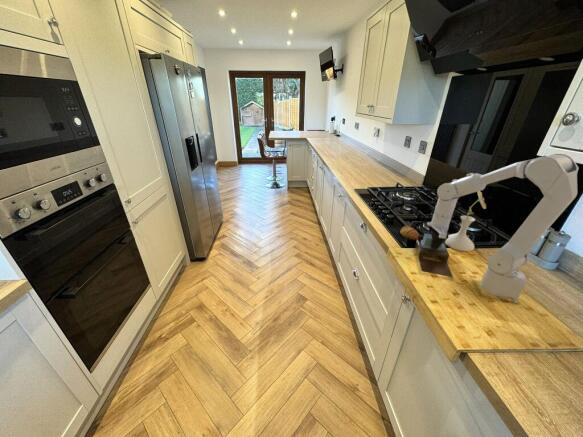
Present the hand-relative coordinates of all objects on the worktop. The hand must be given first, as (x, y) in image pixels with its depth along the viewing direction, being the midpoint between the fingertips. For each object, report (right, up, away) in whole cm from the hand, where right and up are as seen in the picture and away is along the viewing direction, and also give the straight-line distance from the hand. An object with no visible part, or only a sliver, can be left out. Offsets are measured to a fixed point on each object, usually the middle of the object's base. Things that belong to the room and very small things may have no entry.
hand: (432, 245), depth 93 cm
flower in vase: (+16, -2, +9) cm, 19 cm away
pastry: (-1, +2, +16) cm, 17 cm away
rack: (-1, -7, -2) cm, 7 cm away
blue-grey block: (0, -1, 0) cm, 1 cm away
